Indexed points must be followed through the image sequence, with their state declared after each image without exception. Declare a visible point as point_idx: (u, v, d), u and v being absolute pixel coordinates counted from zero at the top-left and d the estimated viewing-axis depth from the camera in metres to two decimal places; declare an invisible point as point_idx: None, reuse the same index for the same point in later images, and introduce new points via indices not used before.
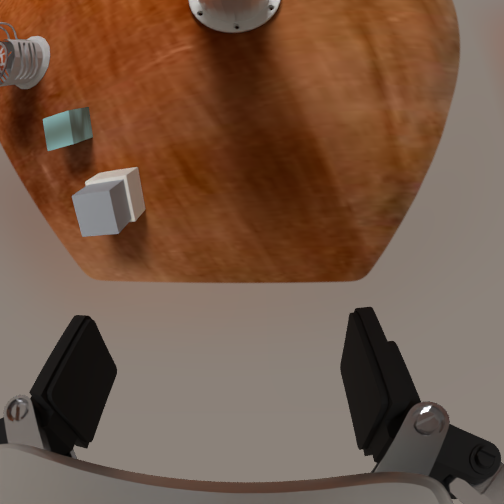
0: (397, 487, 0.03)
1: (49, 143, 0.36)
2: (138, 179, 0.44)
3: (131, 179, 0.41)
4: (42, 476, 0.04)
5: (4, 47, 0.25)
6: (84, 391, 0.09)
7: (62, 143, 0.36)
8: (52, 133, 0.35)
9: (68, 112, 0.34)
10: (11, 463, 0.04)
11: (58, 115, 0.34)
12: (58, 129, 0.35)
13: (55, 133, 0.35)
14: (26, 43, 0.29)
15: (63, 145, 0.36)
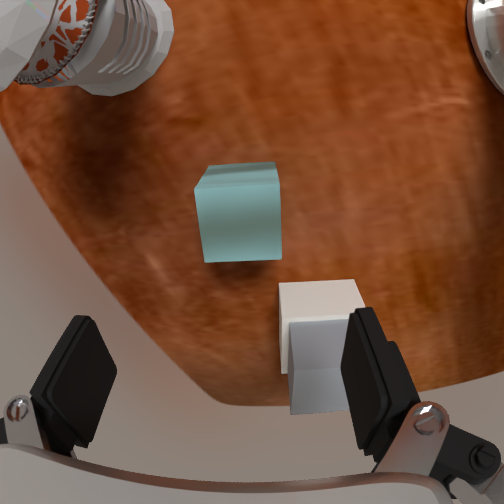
0: (397, 487, 0.03)
1: (211, 247, 0.20)
2: None
3: None
4: (42, 476, 0.04)
5: None
6: (84, 391, 0.09)
7: (249, 253, 0.20)
8: (221, 227, 0.19)
9: (277, 188, 0.18)
10: (12, 463, 0.04)
11: (246, 189, 0.18)
12: (241, 222, 0.19)
13: (233, 229, 0.19)
14: None
15: (252, 257, 0.20)
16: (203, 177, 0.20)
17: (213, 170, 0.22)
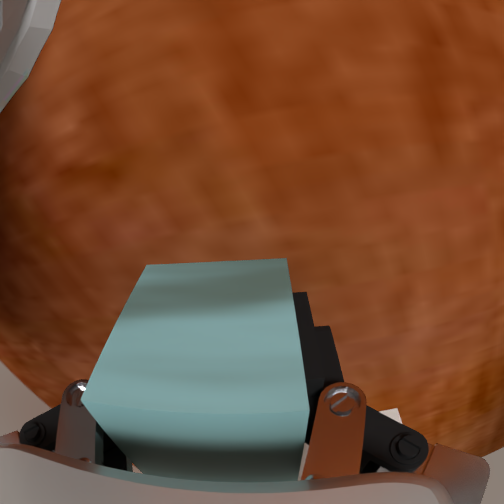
0: (397, 487, 0.03)
1: (154, 470, 0.07)
2: None
3: None
4: (42, 476, 0.04)
5: None
6: None
7: (231, 481, 0.08)
8: (166, 456, 0.07)
9: (302, 415, 0.06)
10: (11, 463, 0.04)
11: (213, 420, 0.06)
12: (208, 457, 0.07)
13: (191, 461, 0.07)
14: None
15: None
16: (117, 328, 0.08)
17: (147, 291, 0.09)
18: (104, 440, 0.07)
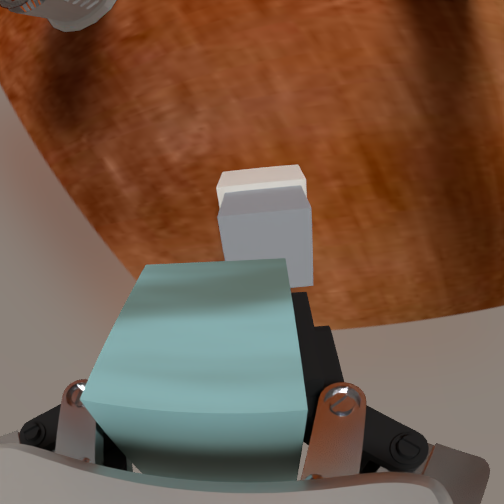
0: (397, 487, 0.03)
1: (153, 469, 0.08)
2: None
3: None
4: (42, 476, 0.04)
5: None
6: None
7: (231, 481, 0.08)
8: (165, 456, 0.07)
9: (301, 414, 0.06)
10: (11, 463, 0.04)
11: (212, 419, 0.06)
12: (207, 456, 0.07)
13: (190, 460, 0.07)
14: None
15: None
16: (116, 328, 0.08)
17: (147, 291, 0.09)
18: (104, 440, 0.07)
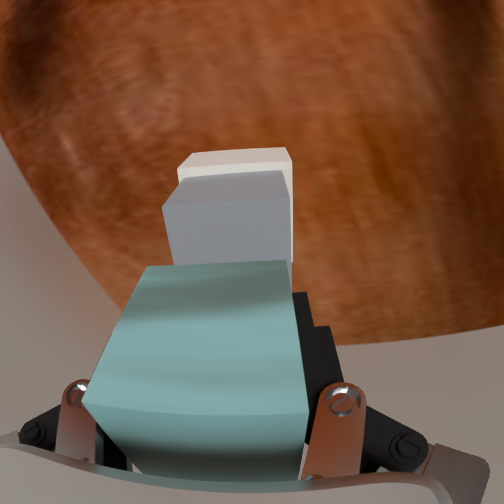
0: (397, 487, 0.03)
1: (154, 470, 0.08)
2: None
3: None
4: (42, 476, 0.04)
5: None
6: None
7: None
8: (166, 458, 0.07)
9: (302, 416, 0.06)
10: (12, 463, 0.04)
11: (213, 421, 0.06)
12: (208, 457, 0.07)
13: (191, 461, 0.07)
14: None
15: None
16: (117, 330, 0.08)
17: (148, 293, 0.09)
18: (104, 440, 0.07)
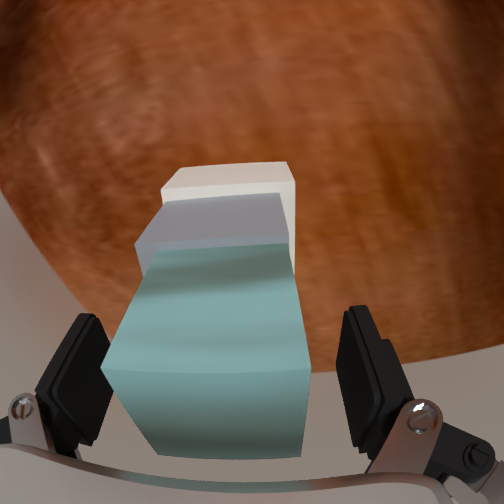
0: (397, 487, 0.03)
1: (164, 443, 0.08)
2: None
3: None
4: (42, 476, 0.04)
5: None
6: (89, 389, 0.09)
7: (239, 454, 0.09)
8: (177, 426, 0.08)
9: (305, 374, 0.07)
10: (12, 462, 0.04)
11: (225, 380, 0.07)
12: (218, 424, 0.08)
13: (201, 429, 0.08)
14: None
15: (245, 457, 0.09)
16: (133, 305, 0.09)
17: (160, 273, 0.10)
18: (55, 449, 0.07)
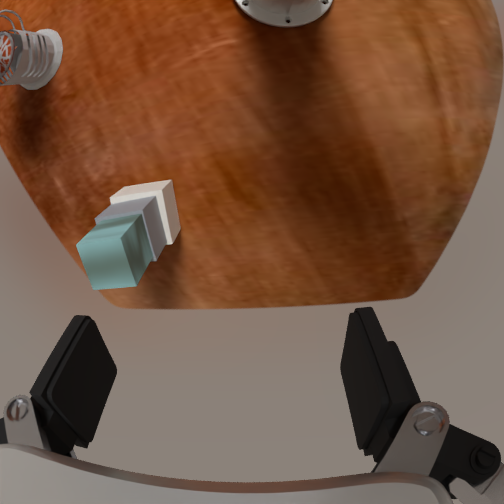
0: (397, 487, 0.03)
1: (94, 280, 0.27)
2: (172, 194, 0.39)
3: (166, 194, 0.37)
4: (42, 476, 0.04)
5: (10, 37, 0.20)
6: (84, 391, 0.09)
7: (116, 283, 0.28)
8: (96, 267, 0.27)
9: (120, 240, 0.26)
10: (11, 463, 0.04)
11: (103, 243, 0.26)
12: (105, 263, 0.27)
13: (102, 268, 0.27)
14: (35, 35, 0.25)
15: (119, 285, 0.28)
16: (88, 233, 0.28)
17: (99, 225, 0.29)
18: (51, 451, 0.07)
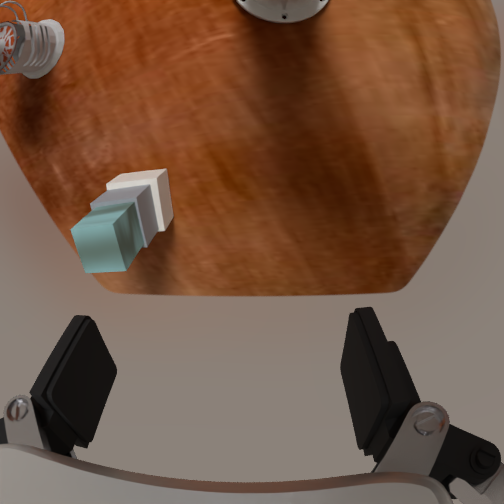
0: (397, 487, 0.03)
1: (86, 263, 0.28)
2: (167, 182, 0.40)
3: (161, 183, 0.37)
4: (42, 476, 0.04)
5: (13, 28, 0.20)
6: (84, 391, 0.09)
7: (107, 267, 0.29)
8: (89, 251, 0.28)
9: (112, 226, 0.27)
10: (11, 463, 0.04)
11: (96, 228, 0.27)
12: (98, 248, 0.28)
13: (94, 252, 0.28)
14: (38, 25, 0.25)
15: (109, 270, 0.29)
16: (83, 219, 0.29)
17: (93, 212, 0.30)
18: (50, 451, 0.07)
